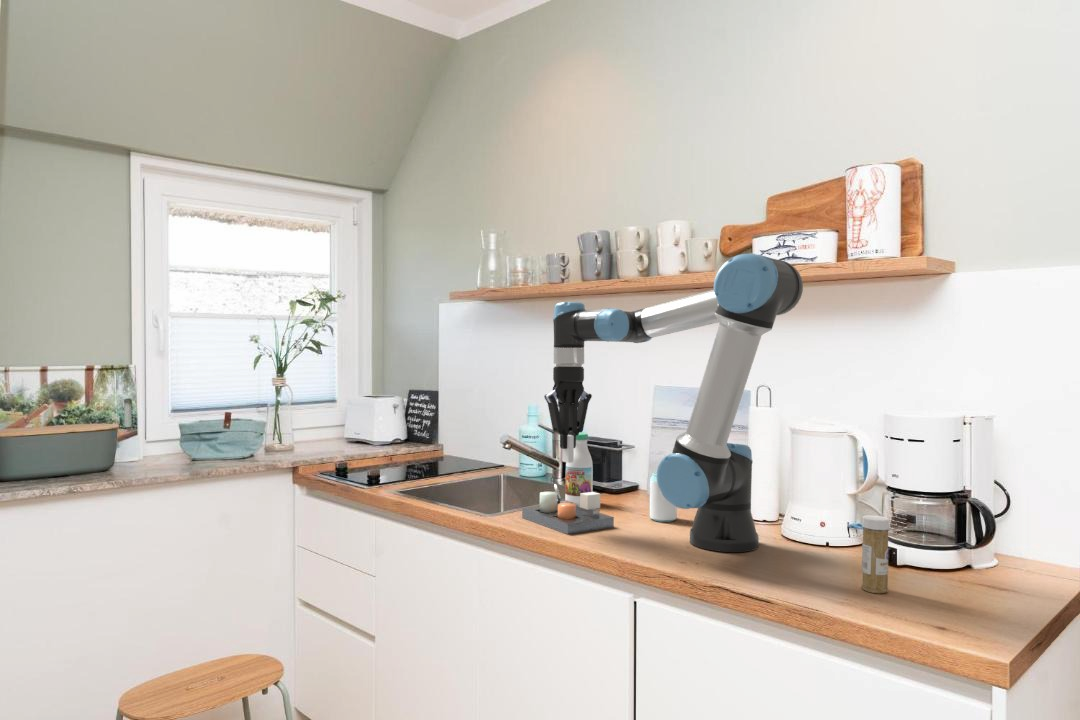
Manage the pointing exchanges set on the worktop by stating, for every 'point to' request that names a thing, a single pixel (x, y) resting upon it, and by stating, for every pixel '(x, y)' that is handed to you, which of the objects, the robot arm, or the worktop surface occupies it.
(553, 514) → the grey base platform
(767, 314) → the robot arm
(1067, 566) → the worktop surface
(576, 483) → the milk bottle
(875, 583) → the spice jar
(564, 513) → the button
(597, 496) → the slider
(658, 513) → the can
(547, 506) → the button
